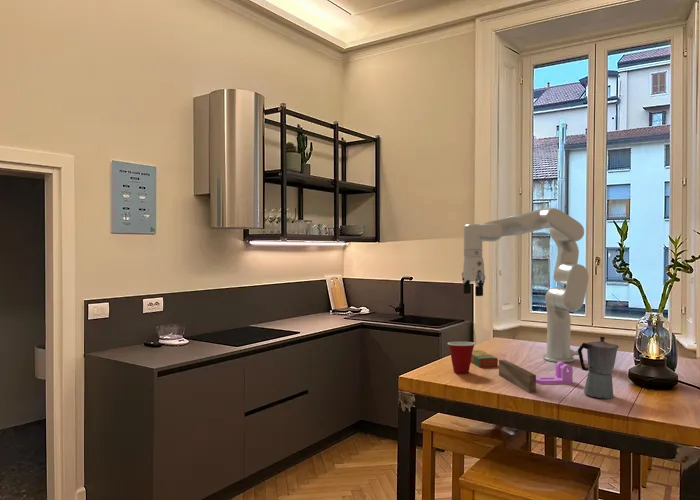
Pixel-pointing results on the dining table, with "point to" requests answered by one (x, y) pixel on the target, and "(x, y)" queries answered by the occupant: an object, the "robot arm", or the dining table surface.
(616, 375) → the dining table surface
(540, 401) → the dining table surface
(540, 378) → the bracket
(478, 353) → the carton
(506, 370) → the walnut board
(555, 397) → the dining table surface
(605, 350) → the moka pot
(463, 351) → the plastic cup
